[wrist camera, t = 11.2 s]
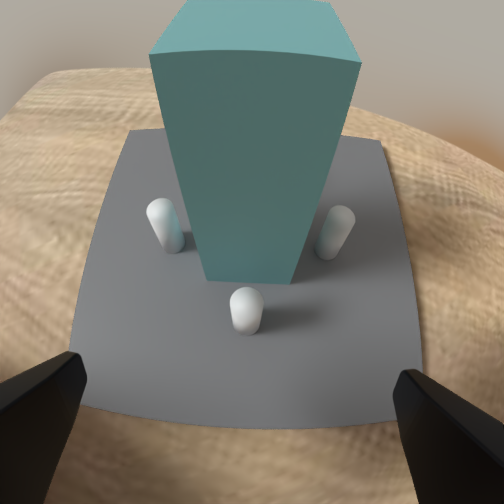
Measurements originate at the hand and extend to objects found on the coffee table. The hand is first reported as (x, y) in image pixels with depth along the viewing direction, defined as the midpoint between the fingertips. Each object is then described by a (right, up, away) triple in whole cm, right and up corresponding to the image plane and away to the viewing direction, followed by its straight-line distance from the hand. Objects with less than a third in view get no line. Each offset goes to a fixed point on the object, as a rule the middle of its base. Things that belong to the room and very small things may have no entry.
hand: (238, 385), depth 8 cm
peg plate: (0, +3, +11) cm, 12 cm away
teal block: (0, +4, +10) cm, 11 cm away
